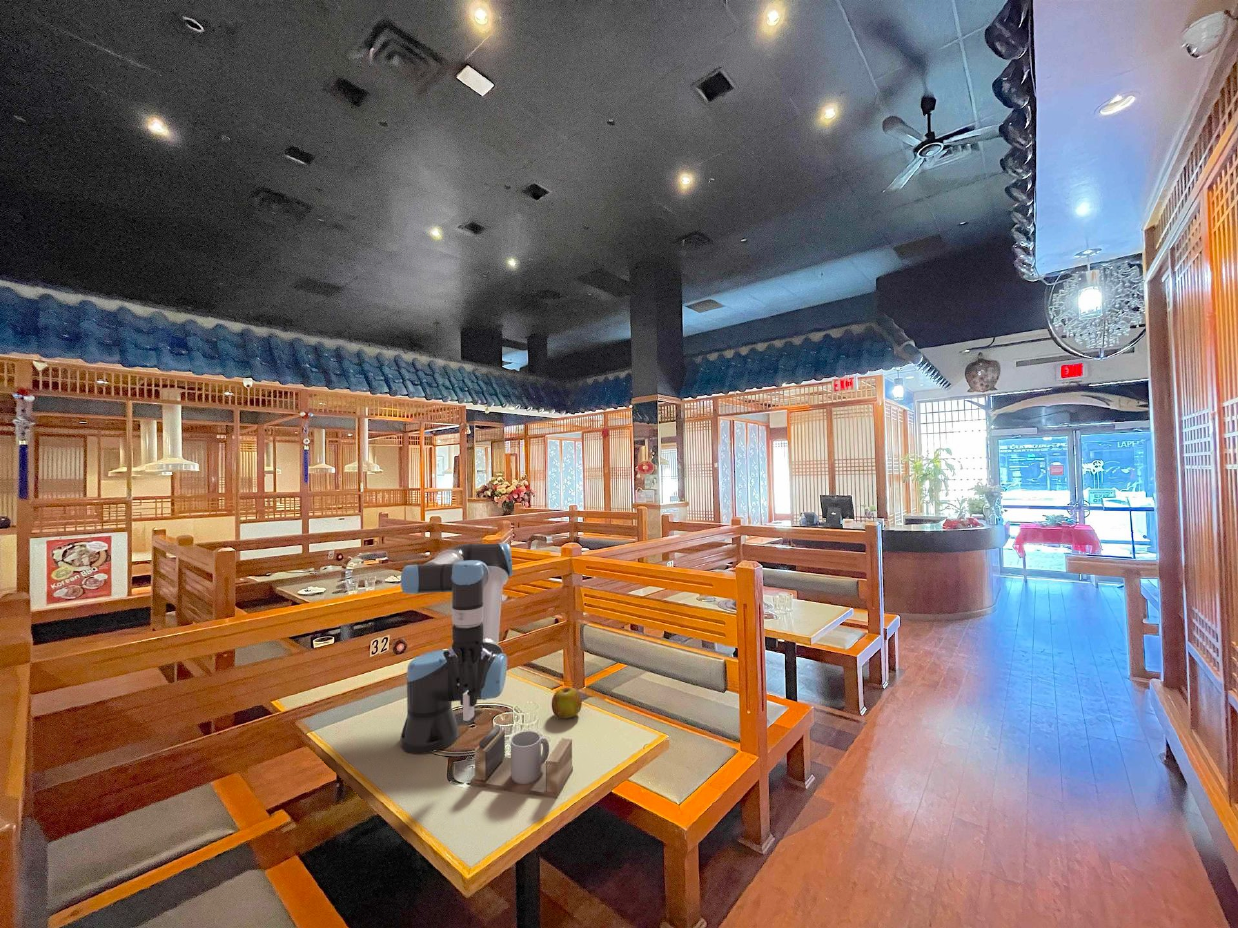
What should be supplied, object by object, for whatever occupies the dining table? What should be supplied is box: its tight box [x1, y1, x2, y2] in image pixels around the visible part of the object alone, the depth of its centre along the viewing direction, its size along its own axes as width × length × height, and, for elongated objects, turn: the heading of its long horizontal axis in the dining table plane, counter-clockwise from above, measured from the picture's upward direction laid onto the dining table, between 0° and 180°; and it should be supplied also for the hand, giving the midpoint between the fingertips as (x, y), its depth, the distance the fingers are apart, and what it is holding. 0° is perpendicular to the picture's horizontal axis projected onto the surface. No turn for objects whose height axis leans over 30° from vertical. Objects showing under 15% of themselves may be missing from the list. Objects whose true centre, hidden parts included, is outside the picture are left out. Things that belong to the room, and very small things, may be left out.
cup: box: [510, 730, 550, 784], centre depth 123 cm, size 7×10×9 cm
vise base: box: [469, 737, 574, 799], centre depth 123 cm, size 22×11×8 cm, turn 76°
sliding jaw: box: [474, 724, 506, 780], centre depth 125 cm, size 3×10×9 cm, turn 166°
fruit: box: [551, 687, 583, 720], centre depth 153 cm, size 10×9×8 cm
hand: (468, 717), depth 126 cm, fingers closed
